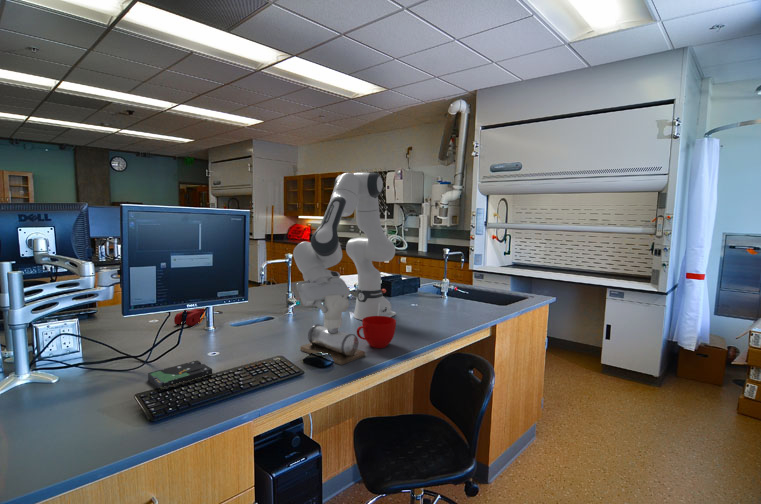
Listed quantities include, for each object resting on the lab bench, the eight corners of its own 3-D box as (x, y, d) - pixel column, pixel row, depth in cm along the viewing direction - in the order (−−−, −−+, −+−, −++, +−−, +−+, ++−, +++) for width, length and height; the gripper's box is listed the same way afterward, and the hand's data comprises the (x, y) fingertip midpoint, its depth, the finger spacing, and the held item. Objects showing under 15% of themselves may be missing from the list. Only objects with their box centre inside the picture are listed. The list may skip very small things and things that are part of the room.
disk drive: (197, 368, 128) (147, 381, 117) (197, 359, 128) (147, 372, 117) (213, 377, 122) (161, 392, 110) (213, 368, 121) (161, 382, 110)
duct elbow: (332, 322, 147) (333, 293, 146) (349, 327, 142) (350, 297, 141) (320, 326, 142) (320, 295, 141) (337, 330, 137) (338, 299, 136)
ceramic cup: (346, 345, 152) (347, 320, 151) (380, 338, 163) (381, 314, 162) (367, 355, 142) (368, 328, 141) (402, 346, 153) (402, 321, 152)
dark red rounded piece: (189, 327, 170) (189, 315, 170) (174, 326, 171) (174, 314, 171) (210, 317, 186) (210, 307, 186) (196, 316, 187) (195, 306, 187)
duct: (324, 342, 155) (325, 312, 154) (364, 355, 142) (365, 323, 141) (300, 350, 146) (300, 318, 144) (341, 365, 133) (342, 330, 131)
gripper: (297, 277, 138) (314, 309, 132) (342, 272, 153) (359, 301, 147) (290, 287, 142) (306, 320, 136) (334, 281, 156) (350, 310, 151)
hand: (334, 310), depth 142 cm, fingers closed on duct elbow, 6 cm apart
